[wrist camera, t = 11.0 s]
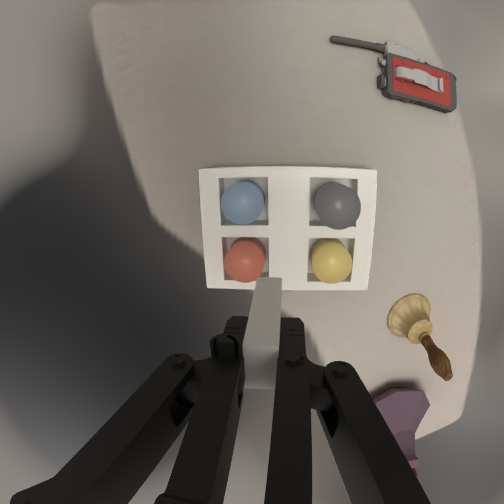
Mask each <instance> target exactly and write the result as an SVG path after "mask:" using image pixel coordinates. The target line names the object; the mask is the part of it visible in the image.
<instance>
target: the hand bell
mask: <svg viewBox="0 0 504 504" xmlns="http://www.w3.org/2000/svg"><path fill="white" fill-rule="evenodd" d="M429 316H430V304H429V301H428V300H427V298H426V297H424V296H423V295H420V294H410V295H407V296H405V297H403V298H401V299H400V300H399V301H397V302H396V303H395V304H394V306H393V307H392V309H391V311H390V312H389V315H388V320H387V323H388V328H389V330H390V331H391V332H392V333H393V334H394V335H396V336H400V337H407V338H408V340H409V341H410V342H411V343H414V344H419V343H421V344H422V345H423V346H424V348H425V349H426V351H427V353H428V357H429V361H430V364H431V366H432V368H433V370H434V371H435V373H437V374H438V375H439V376H440V377H442V378H443V379H444V380H445V381H448V380H450V379H451V378H452V377H453V374H452V370H451V364H450V361H449V359H448V357H447V355H446V354H445V353H444V352H443V351H442V350H441V349H439V348H438V347H437V346H436V345H435V344H434V342H433V340H432V339H431V337H430V334H431V332H432V323H431V321H430V319H429Z"/></svg>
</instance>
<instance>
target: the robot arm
mask: <svg viewBox="0 0 504 504" xmlns="http://www.w3.org/2000/svg"><path fill="white" fill-rule="evenodd" d="M281 295H282V278H277V277H257V281H256V286H255V291H254V295H253V300H252V304H251V309H250V313H249V317H245V316H232V317H231V318H230V319H229V320H228V321H227V324H226V327H225V329H224V333H223V334H219V335H216V336H214V337H213V338H212V339H211V340H210V347H211V355H212V356H211V357H210V358H207V359H204V360H196V361H193V359H192V358H191V356H189V355H187V354H183V353H178V354H173V355H171V356H169V357H168V358H166V359H165V361H164V362H163V363H162V364H161V365H160V366H159V367H158V368H157V369H156V370H155V371H154V372H153V373H152V374H151V376H150V377H149V378H148V379H147V380H146V381H145V382H144V383H143V384H142V385H141V386H140V387H139V388H138V389H137V391H135V393H134V394H133V395H132V396H131V397H130V398H129V399H128V400H127V401H126V402H125V403H124V404H123V405H122V406H121V407H120V408H119V409H118V411H117V412H116V413H115V414H114V415H113V416H112V417H111V418H110V419H109V420H108V421H107V422H106V423H105V424H104V425H103V426H102V427H101V428H100V430H99V431H98V432H97V433H96V434H95V435H94V436H93V437H92V438H91V439H90V440H89V441H88V442H87V443H86V444H85V445H84V446H83V447H82V448H81V449H80V450H79V451H78V453H77V454H76V455H75V456H74V457H73V458H72V459H71V460H70V461H69V462H68V463H67V464H66V465H65V466H64V467H63V468H62V469H61V470H60V471H59V472H58V473H57V474H56V475H55V476H54V477H53V478H51V479H49V480H47V481H44V482H42V483H40V484H37V485H35V486H32V487H30V488H28V489H25V490H23V491H20V492H18V493H16V494H15V495H13V496H12V498H11V500H10V504H128V503H129V501H130V500H131V499H132V497H133V496H134V495H135V494H136V492H137V491H138V490H139V488H140V487H141V486H142V484H143V483H144V482H145V481H146V479H147V478H148V477H149V475H150V474H151V472H152V471H153V470H154V469H155V467H156V466H157V464H158V463H159V462H160V460H161V459H162V457H163V456H164V455H165V454H166V452H167V451H168V449H169V448H170V447H171V445H172V444H173V442H174V441H175V440H176V438H177V437H178V436H179V434H180V433H181V431H182V430H183V428H184V427H185V425H186V424H187V423H188V421H189V423H188V426H187V429H186V432H185V435H184V438H183V441H182V444H181V446H180V449H179V453H178V455H177V458H176V461H175V464H174V467H173V470H172V473H171V476H170V479H169V482H168V485H167V488H166V490H165V492H164V493H163V494H161V495H159V496H158V497H157V498H156V500H155V503H154V504H223V501H224V496H225V490H226V485H227V481H228V475H229V470H230V465H231V460H232V455H233V450H234V445H235V439H236V434H237V428H238V423H239V417H240V413H241V407H242V402H243V387H244V386H245V388H251V389H268V390H275V398H274V410H273V422H272V433H271V444H270V454H269V464H268V474H267V483H266V492H265V501H264V504H312V437H311V408H312V409H316V410H317V414H318V417H319V419H320V422H321V425H322V427H323V430H324V432H325V435H326V438H327V440H328V443H329V445H330V448H331V450H332V453H333V456H334V458H335V461H336V463H337V466H338V469H339V471H340V474H341V476H342V479H343V481H344V484H345V487H346V489H347V492H348V494H349V497H350V500H351V502H352V504H430V501H429V500H428V498H427V496H426V494H425V492H424V490H423V488H422V486H421V484H420V483H419V481H418V479H417V477H416V475H415V473H414V472H413V470H412V468H411V466H410V464H409V462H408V461H407V459H406V457H405V455H404V453H403V452H402V450H401V448H400V446H399V445H398V443H397V441H396V439H395V437H394V436H393V434H392V432H391V430H390V429H389V427H388V425H387V423H386V422H385V420H384V418H383V416H382V415H381V413H380V411H379V409H378V408H377V406H376V404H375V403H374V401H373V399H372V397H371V396H370V394H369V392H368V391H367V389H366V387H365V386H364V384H363V382H362V381H361V379H360V377H359V375H358V374H357V372H356V370H355V369H354V367H353V366H352V365H351V364H349V363H347V362H343V361H334V362H331V363H329V364H328V365H327V366H326V367H324V366H319V365H316V364H314V363H312V362H310V361H309V360H308V358H307V356H306V349H305V333H304V323H303V322H302V321H301V319H300V318H285V317H284V318H282V317H281Z"/></svg>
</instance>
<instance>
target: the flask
mask: <svg viewBox="0 0 504 504" xmlns="http://www.w3.org/2000/svg"><path fill="white" fill-rule="evenodd" d="M373 401H374V403H375V404H376V406H377V408H378V409H379V411H380V413H381V415H382V416H383V418H384V420H385V422H386V423H387V425H388V427H389V429H390V430H391V432H392V434H393V436H394V437H395V439H396V441H397V443H398V445H399V446H400V448H401V450H402V452H403V453H404V455H405V457H406V459H407V461H408V462H409V464H410V466H411V468H412V470H413V472H414V473H415V475H416V477H417V473H416V471H415V469H416V468H417V466H418V465H419V464H420V463H421V461H420V460H419V459H418V458H417V457H416V456H415V451H414V445H415V432H416V430H417V428H418V426H419V424H420V422H421V420H422V418H423V417H424V415H425V413H426V411H427V409H428V408H429V406H430V404H429V401H428V399H427V397H426V395H425V393H424V391H421V390H414V389H407V388H390V389H388V390H386V391H385V392H383V393H381V394H379V395H377V396H375V397H374V399H373Z"/></svg>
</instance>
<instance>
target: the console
mask: <svg viewBox="0 0 504 504" xmlns="http://www.w3.org/2000/svg"><path fill="white" fill-rule="evenodd" d="M242 180H250V181H253V182H256V183H257V184H258V185H260V187H261V188H262V189H263V191H264V194H265V205H264V207H263V210H262V212H261V214H260V216H259V217H258V218H257V219H256V220H255V221H254V222H252V223H249V224H246V225H239V224H235V223H233V222H231V221H229V220H228V219H227V218H226V217H225V215H224V214H223V212H222V209H221V197H222V195H223V193H224V191H225V190H226V189H227V188H228V187H229V186H231V185H233V184H235V183H236V182H238V181H242ZM328 182H338V183H341V184H343V185H345V186H347V187H349V188H351V189H352V190H354V191H355V192H356V194H357V195H358V197H359V199H360V202H361V212H360V215H359V218H358V219H357V221H356V222H355V223H354V224H353V225H352V226H350V227H348V228H346V229H342V230H335V229H332V228H329V227H327V226H326V225H325V224H324V223H323V222H322V221H321V220H320V218H319V216H318V214H317V213H316V211H315V208H314V204H313V200H314V195H315V193H316V191H317V190H318V188H319V187H320V186H322V185H323V184H325V183H328ZM199 188H200V205H201V220H202V234H203V247H204V259H205V270H206V281H207V288H226V289H255V286H256V281H257V279H256V280H254V281H252V282H248V283H242V282H238V281H235V280H234V279H232V278H231V277H230V276H229V275H228V274H227V272H226V270H225V267H224V259H225V256H226V254H227V252H228V250H229V249H230V247H231V245H232V244H233V242H234V241H235V240H236V239H238V238H240V237H254V238H257V239H258V240H259V241H261V242H262V244H263V245H264V247H265V250H266V259H265V264H264V269H263V272H262V274H261V275H260V277H277V278H282V290H367V287H368V280H369V272H370V264H371V256H372V246H373V236H374V224H375V210H376V191H377V170H373V169H365V168H349V167H326V166H236V167H213V168H203V169H199ZM322 238H337V239H338V240H340V241H341V242H342V243H343V244H344V246H345V248H346V249H347V251H348V252H349V254H350V256H351V258H352V269H351V272H350V274H349V275H348V276H347V277H346V278H345V279H344V280H343V281H341V282H339V283H335V284H328V283H324V282H322V281H320V280H319V279H318V278H317V277H316V275H315V273H314V271H313V266H312V262H311V258H310V253H311V249H312V247H313V245H314V244H315V243H316V242H317V241H318V240H320V239H322Z"/></svg>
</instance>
